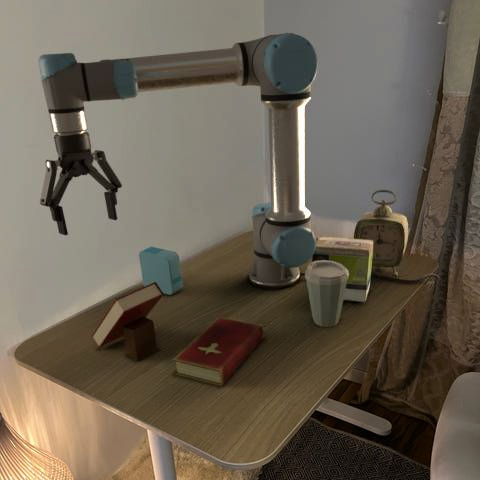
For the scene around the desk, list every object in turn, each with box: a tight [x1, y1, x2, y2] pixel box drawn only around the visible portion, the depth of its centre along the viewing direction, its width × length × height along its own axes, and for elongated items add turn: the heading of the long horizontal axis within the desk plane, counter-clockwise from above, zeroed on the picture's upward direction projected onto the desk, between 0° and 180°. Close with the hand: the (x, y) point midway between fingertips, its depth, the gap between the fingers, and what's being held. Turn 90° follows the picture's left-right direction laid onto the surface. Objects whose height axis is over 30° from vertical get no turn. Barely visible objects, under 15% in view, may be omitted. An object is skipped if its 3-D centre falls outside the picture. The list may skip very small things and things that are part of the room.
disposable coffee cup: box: [304, 260, 349, 327], centre depth 128 cm, size 11×11×15 cm
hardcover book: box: [172, 316, 265, 387], centre depth 119 cm, size 12×21×4 cm, turn 153°
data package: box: [138, 246, 184, 296], centre depth 152 cm, size 12×4×12 cm, turn 55°
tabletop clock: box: [353, 189, 409, 278], centre depth 151 cm, size 14×9×25 cm, turn 67°
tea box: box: [311, 236, 373, 303], centre depth 141 cm, size 15×10×15 cm
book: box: [91, 282, 165, 349], centre depth 121 cm, size 20×11×4 cm
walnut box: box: [122, 316, 159, 362], centre depth 121 cm, size 4×6×8 cm, turn 138°
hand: (89, 226), depth 123 cm, fingers open, 13 cm apart
